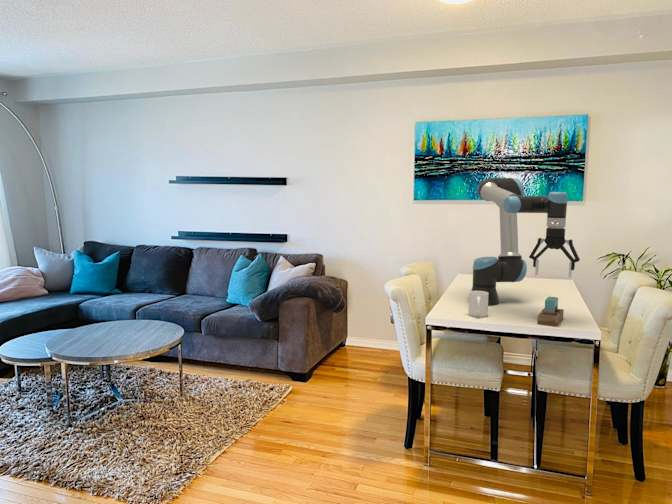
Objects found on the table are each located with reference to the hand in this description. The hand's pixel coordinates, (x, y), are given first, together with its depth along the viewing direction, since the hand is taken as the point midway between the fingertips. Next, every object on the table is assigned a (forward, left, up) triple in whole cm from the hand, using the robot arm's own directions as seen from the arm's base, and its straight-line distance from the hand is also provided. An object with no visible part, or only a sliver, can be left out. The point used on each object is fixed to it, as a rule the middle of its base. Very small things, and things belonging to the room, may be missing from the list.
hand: (552, 276), depth 227 cm
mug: (-30, -8, -20) cm, 37 cm away
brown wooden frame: (0, 0, -20) cm, 20 cm away
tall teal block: (0, 0, -20) cm, 20 cm away
